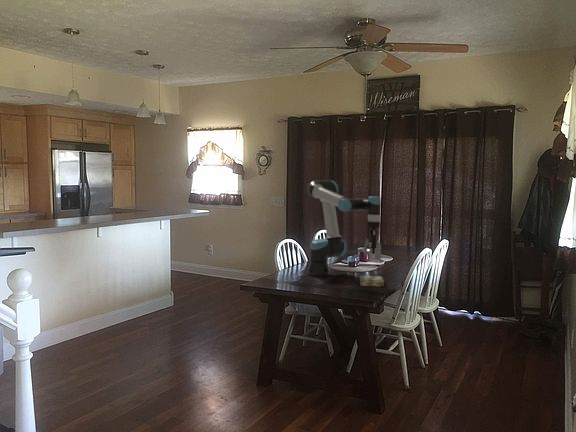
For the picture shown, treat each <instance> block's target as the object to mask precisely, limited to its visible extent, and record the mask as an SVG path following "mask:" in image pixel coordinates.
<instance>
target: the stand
mask: <svg viewBox="0 0 576 432" xmlns="http://www.w3.org/2000/svg"><path fill="white" fill-rule="evenodd" d="M359 284H360V286H361V287H362V286H363V287H381V286H383V287H385V281H384V279H383V276H379V275H377V276H376V275H375V276H374V275H359ZM383 287H382V288H383Z"/></svg>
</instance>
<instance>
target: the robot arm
mask: <svg viewBox="0 0 576 432" xmlns="http://www.w3.org/2000/svg"><path fill="white" fill-rule="evenodd" d="M306 189H307V193H308V194H309V196H310V197H312V198H314V199H318V200H319V201H320V202H321V203H322V204H321V205H322V210H323V211H322V212H323V217H324V224H325V231H326V236H325V238H317V239H313V240H312V241H311V242H310V256H309V259H310V260H309V265H308V267H307V275H309V276H312V277H328V276H330V274H331V271H330V266H329V264H328V259H329V258H339V257H342V256H344V255H345V253H346V252H347V248H348V246H347V243H346V241H345V240H344V239H343V236H342V235H341V234H340V232H339V223H338V217H337V211H336V207H337V208H338V209H339V211H341V212H353V211H360V212H361V211H367V228H369V229H370V230H369V236H370V238H369V243H371V247H370V246H369V249H370V248H371V259H370V260H373V259H375V251H376V242H377V233H378V231H377V229H380V226H381V223H380V222H381V218H382V215H381V205H382V203H381V197H380V196H374V195H372V196H371V195H369V196H368V198H363V197H359V198H348V197H346V196H343V195H341V194H339V185H338V184H337V182H335V181H334V180H332V179H331V180H330V179H320V180H319V179H315V180H312V181H311V182H309V184H308V186H307V188H306Z"/></svg>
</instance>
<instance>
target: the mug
mask: <svg viewBox="0 0 576 432" xmlns="http://www.w3.org/2000/svg"><path fill="white" fill-rule="evenodd" d="M365 239H366V240H365V244H364V246H363V254H364V256H368V257H369V258H368V259H370V260H375V261H379V260H381V259H382V253H381V252H382V246H381V245H382V243H381V242H377V241H376V251H375V259H371V248H370V247H371V243H370V239H368V238H365ZM368 246H369V250H368V249H367V248H368Z"/></svg>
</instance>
